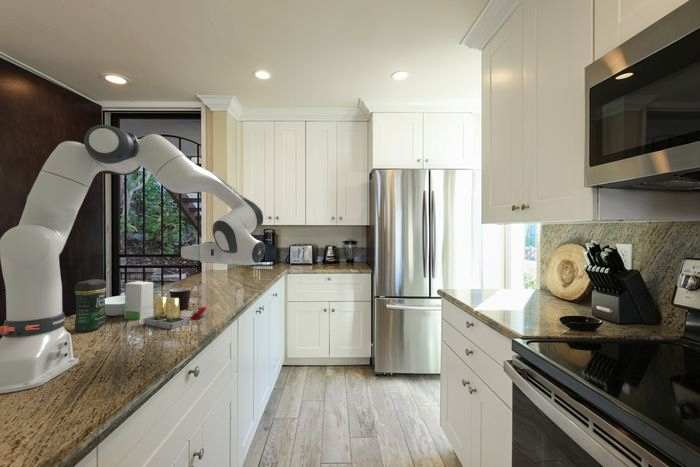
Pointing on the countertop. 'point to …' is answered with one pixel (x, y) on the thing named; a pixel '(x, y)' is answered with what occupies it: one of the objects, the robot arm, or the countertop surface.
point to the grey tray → (166, 323)
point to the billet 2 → (172, 310)
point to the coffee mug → (181, 297)
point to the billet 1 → (160, 307)
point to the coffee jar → (90, 305)
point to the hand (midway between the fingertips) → (195, 250)
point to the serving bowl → (115, 305)
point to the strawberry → (199, 313)
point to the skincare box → (138, 300)
